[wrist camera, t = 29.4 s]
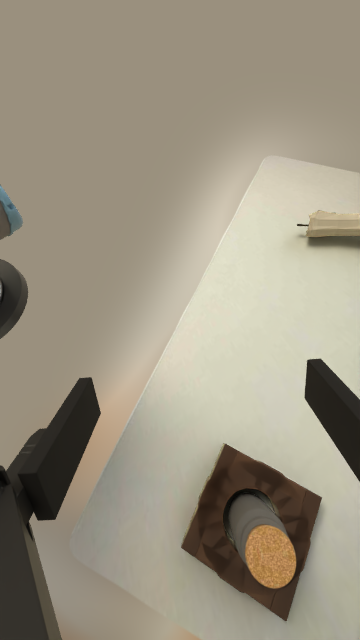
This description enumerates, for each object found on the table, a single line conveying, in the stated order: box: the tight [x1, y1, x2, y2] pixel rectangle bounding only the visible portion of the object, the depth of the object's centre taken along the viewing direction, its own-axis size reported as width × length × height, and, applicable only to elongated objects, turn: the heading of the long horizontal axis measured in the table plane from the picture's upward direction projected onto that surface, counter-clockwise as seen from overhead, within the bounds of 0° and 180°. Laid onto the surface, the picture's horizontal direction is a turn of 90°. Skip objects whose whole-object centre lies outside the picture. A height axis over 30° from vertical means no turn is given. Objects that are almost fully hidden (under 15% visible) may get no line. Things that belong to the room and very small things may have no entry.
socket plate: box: [181, 444, 322, 621], centre depth 37 cm, size 14×14×4 cm
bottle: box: [228, 493, 296, 588], centre depth 32 cm, size 6×6×15 cm
